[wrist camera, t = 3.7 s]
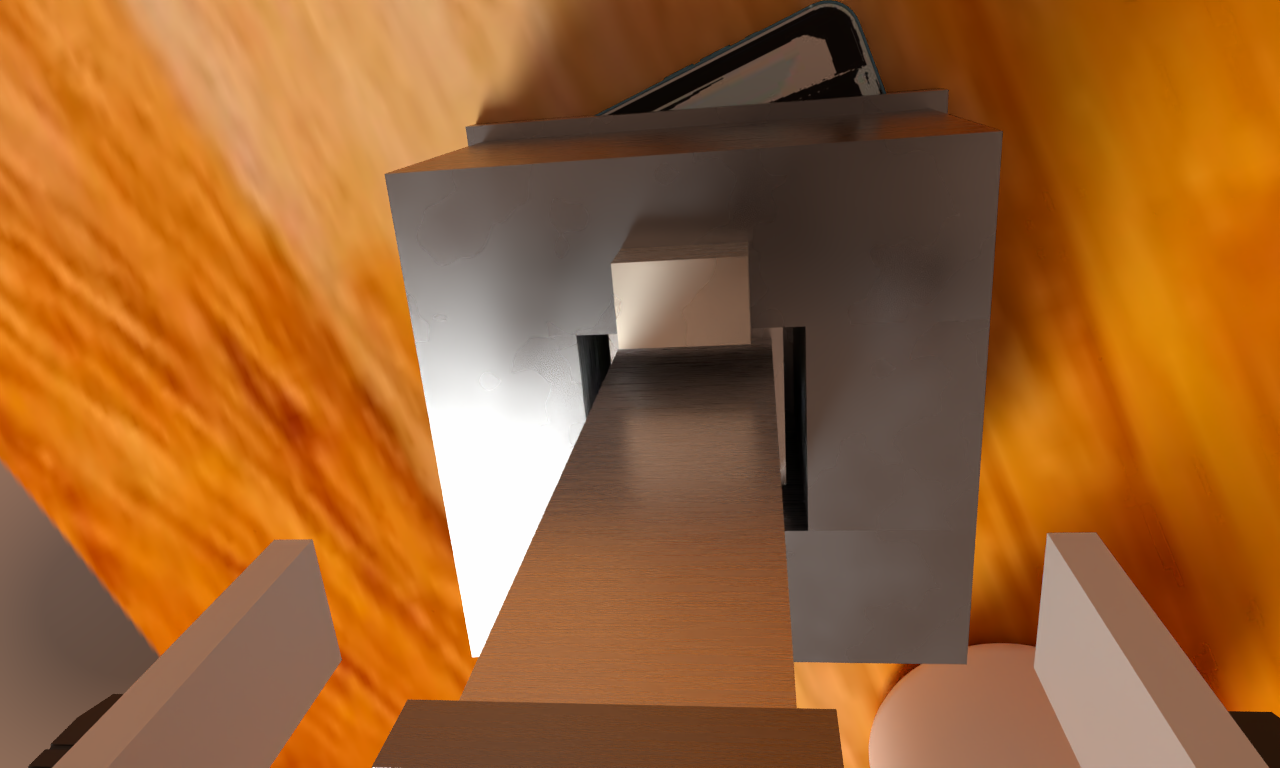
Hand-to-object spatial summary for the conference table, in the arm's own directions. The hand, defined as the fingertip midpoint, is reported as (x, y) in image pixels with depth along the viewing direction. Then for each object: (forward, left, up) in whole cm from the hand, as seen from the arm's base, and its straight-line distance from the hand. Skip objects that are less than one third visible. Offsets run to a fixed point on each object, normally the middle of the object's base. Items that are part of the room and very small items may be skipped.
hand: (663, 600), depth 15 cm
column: (0, 0, -14) cm, 15 cm away
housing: (0, 0, -16) cm, 16 cm away
